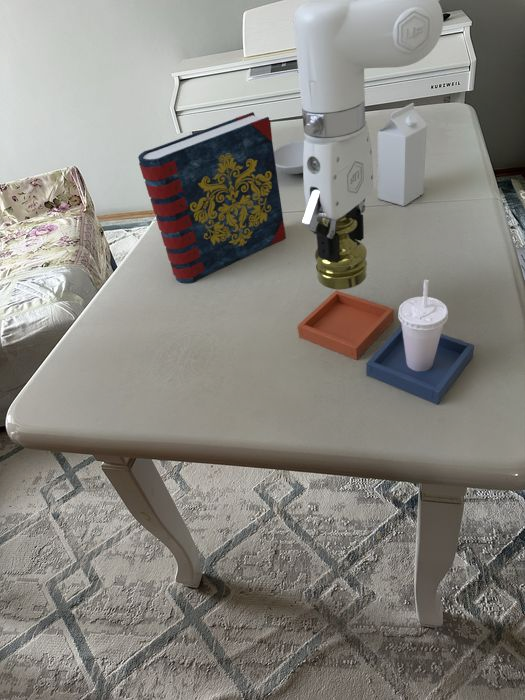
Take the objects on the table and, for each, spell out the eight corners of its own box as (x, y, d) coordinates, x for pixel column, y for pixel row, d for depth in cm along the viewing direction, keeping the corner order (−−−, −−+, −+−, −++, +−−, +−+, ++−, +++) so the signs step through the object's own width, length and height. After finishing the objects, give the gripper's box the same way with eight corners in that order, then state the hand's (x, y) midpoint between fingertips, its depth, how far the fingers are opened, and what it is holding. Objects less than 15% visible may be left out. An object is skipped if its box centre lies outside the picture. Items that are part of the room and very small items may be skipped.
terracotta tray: (393, 320, 84) (393, 308, 83) (356, 360, 79) (356, 348, 77) (336, 301, 91) (336, 290, 89) (298, 336, 85) (297, 325, 83)
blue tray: (472, 357, 76) (474, 344, 74) (437, 404, 70) (439, 392, 68) (403, 332, 82) (404, 321, 80) (366, 375, 76) (366, 363, 75)
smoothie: (449, 355, 76) (458, 275, 67) (433, 383, 72) (440, 302, 63) (407, 343, 79) (410, 265, 70) (389, 369, 75) (390, 291, 66)
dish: (323, 184, 127) (322, 164, 124) (266, 188, 130) (263, 169, 127) (328, 156, 140) (327, 137, 137) (276, 160, 143) (274, 142, 140)
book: (183, 288, 101) (145, 164, 85) (168, 274, 106) (130, 154, 90) (287, 238, 110) (271, 117, 94) (269, 228, 114) (251, 110, 98)
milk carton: (377, 199, 117) (377, 111, 105) (397, 187, 120) (399, 100, 108) (403, 207, 112) (406, 116, 100) (423, 194, 116) (428, 104, 103)
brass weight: (325, 261, 82) (320, 202, 75) (372, 265, 79) (371, 204, 73) (311, 288, 77) (304, 228, 70) (360, 293, 74) (358, 230, 68)
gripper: (318, 149, 57) (329, 285, 68) (396, 98, 66) (394, 226, 77) (265, 141, 61) (284, 271, 73) (346, 94, 70) (351, 217, 81)
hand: (341, 247), depth 75 cm, fingers closed on brass weight, 5 cm apart
